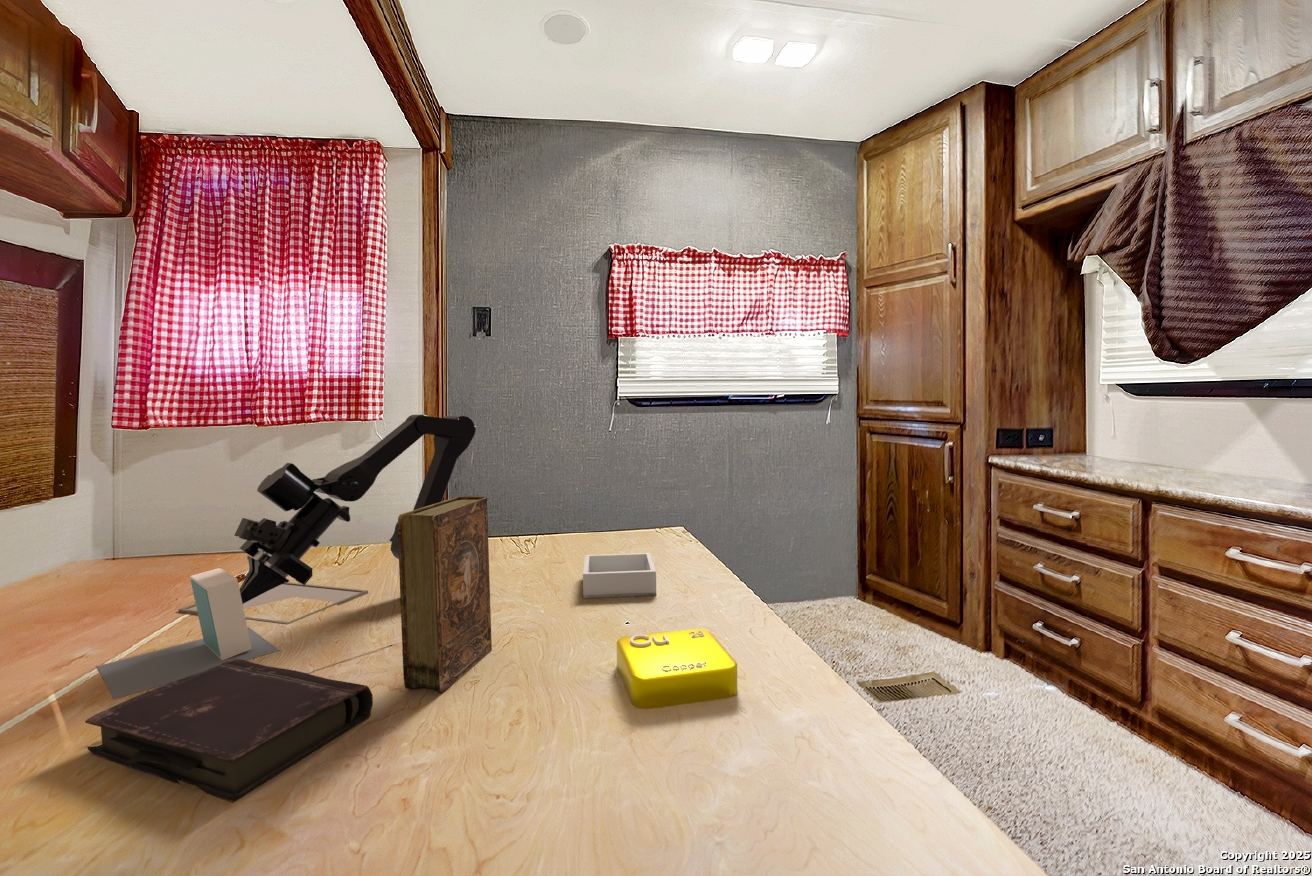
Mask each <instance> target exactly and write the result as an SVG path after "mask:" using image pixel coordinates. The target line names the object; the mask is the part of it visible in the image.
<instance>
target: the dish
mask: <svg viewBox="0 0 1312 876" xmlns="http://www.w3.org/2000/svg"><path fill="white" fill-rule="evenodd" d="M583 563H584V564H583V570H582V598H583V599H595V598H619V597H643V596H645V597H646V596H647V597H648V596H657V570H656V566H655V564H654V560H653V557H652V553H651V552H637V553H635V552H634V553H633V552H632V553H611V554H609V553H608V554H605V553H603V554H585V555H584V561H583Z"/></svg>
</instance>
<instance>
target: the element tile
mask: <svg viewBox="0 0 1312 876" xmlns="http://www.w3.org/2000/svg"><path fill="white" fill-rule="evenodd" d="M616 668H617V671H618V673H619V677H620V679H621V681H622V683H623V686H624V688H625V691H626V694H627V696H628V699H629V702H630V704H631V705H632V706H634V708H637V709H640V710H649V709H650V710H651V709H658V708H659V709H660V708H665V707H672V706H681V705H688V704H695V703H702V702H711V701H717V700H724V699H729V698H732V697H735V696H736V695H737V694H738V663H737V662H736V660H735V659H734V658H733V657H732V656H731V654H730V653H729V652H728V651H727V650H726V649H725V647H724V646H723V645H722V644H721V643H720V642H719V640H718V639H717V637H716V636H714V634H713V633H712V632H711V631H710V630H707V629H706V628H693V629H692V628H689V629H682V630H681V629H680V630H672V631H663V632H653V633H644V634H643V633H641V634H634V635H625V636H621V637H619V638H618V639H617V641H616Z"/></svg>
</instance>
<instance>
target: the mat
mask: <svg viewBox="0 0 1312 876" xmlns="http://www.w3.org/2000/svg"><path fill="white" fill-rule="evenodd" d="M247 628H248V633H249V638H250V643H251V648H252V649H251V650H248V651H245V652H243V653H240V654H237V655H235V656H232V657H230V658H227V659H224V660H221V659H220V658H219V657H218V656H217V655H216V654H215V653H214V652H213V651H212V650H211V649H210V648H209V647H208V646H207V645H205V643H204V640H203V638H201V639H197V640H192V641H188V642H185V643H182V644H177V645H174V646H169V647H166V648H161V649H157V650H154V651H151V652H147V653H142V654H138V655H135V656H130V657H127V658H124V659H123V658H122V659H118V660H115V661H111V662H109V663H108V662H107V663H104V664H100V665H97V666H96V669H97V670H98V672H99V674H100V676H101V678H102V679H103V681H104V683H105V685H106V687H107V690H108V691H109V693H110V694H111V696H112V698H113V700H116V699H120V698H123V697H127V696H131V695H134V694H138V693H141V692H144V691H147V690H148V691H149V690H152V689H155V688H158V687H160V686H163V685H165V684H168V683H170V682H173V681H176V680H179V679H182V678H185V677H187V676H190V675H193V674H196V673H199V672H202V671H204V670H207V669H209V668H212V667H214V666H217V665H221V664H222V663H224V662H226V661H229V660H231V659H234V658H238V659H242V660H246V661H249V660H253V659H256V658H260V657H263V656H267V655H270V654H273V653H276V652H280V651H281V650H280V649H279V648H277V647H276V646H275V645H273V644H272V643H271V642H269V641H268V640H267V639H265V638H264V637H262V636H261V635H260V634H259V633H257V632H256V631H254V629H252V628H251V627H249V626H247Z"/></svg>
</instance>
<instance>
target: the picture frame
mask: <svg viewBox="0 0 1312 876" xmlns="http://www.w3.org/2000/svg"><path fill="white" fill-rule="evenodd" d="M367 594H369V590H367V589H360V588H359V589H358V588H357V589H356V588H346V587H339V586H338V587H337V586H330V585H329V586H328V585H318V584H311V583H310V584H308V583H306V584H305V585H303V584H301V583H299V582H290V581H289V582H288V583H283V584H281V585H279V586H277V587H275V588H273V589H271V590H269V591H267V592H265V593H263V594H261V595H259V596H257V597H255V598H253V599H251V600H249V601H248V602H246V603H244V604H243V609H244V610H245V609H250V608H253V607H258V606H262V605H266V604H271V603H276V602H279V601H283V600H287V599H292V598H298V599H306V600H315V601H324V602H331V603H332V604H329V605H326V606H324V607H322V608H319V609H317V610H315V611H312V612H310V613H307V614H305V615H303V616H300V617H298V618H296V619H292V620H291V621H283V620H281V621H280V620H275V619H274V620H273V619H267V618H260V617H259V618H258V617H252V616H251V617H250V616H245V619H246V620H252V621H253V620H254V621H258V622H259V621H260V622H266V623H267V622H268V623H275V624H281V625H290V624H292V623H294V622H297V621H299V620H302V619H305V618H306V617H309V616H311V615H314V614H316V613H319V612H322V611H323V610H326V609H328V608H331V607H333V606H336V605H337V606H341V605H344V604H346V603H348V602H351V601H353V600H355V599H358V598H361V597H363V596H365V595H367ZM177 611H178V613H182V614H192V615H198V612H197V607H196V603H194V604H191V605H188V606H184V607H182V608H178V609H177Z"/></svg>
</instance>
